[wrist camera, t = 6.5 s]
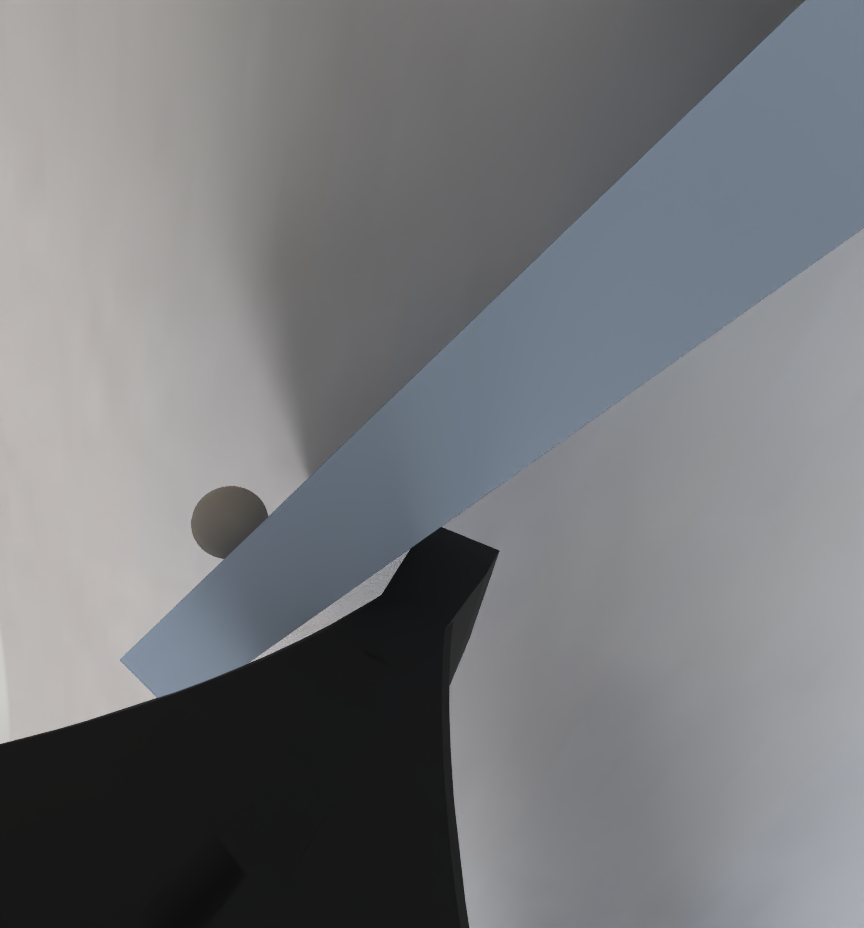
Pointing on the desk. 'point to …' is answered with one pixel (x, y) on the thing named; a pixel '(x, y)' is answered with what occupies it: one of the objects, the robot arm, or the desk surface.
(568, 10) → the desk surface
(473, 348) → the rectangular plank
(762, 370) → the desk surface
